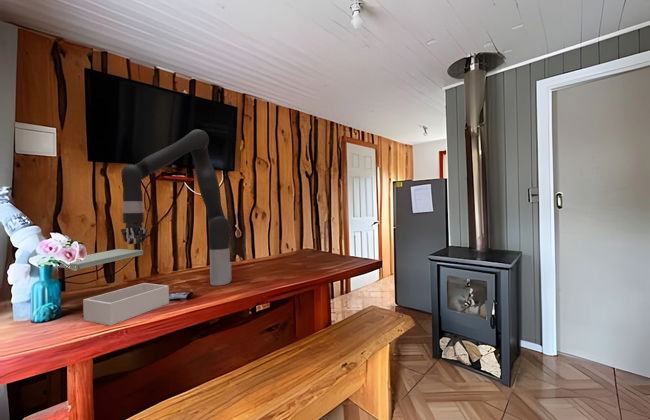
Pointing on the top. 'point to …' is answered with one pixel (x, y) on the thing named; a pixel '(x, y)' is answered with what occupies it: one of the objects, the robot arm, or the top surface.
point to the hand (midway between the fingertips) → (134, 251)
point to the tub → (125, 303)
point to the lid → (105, 257)
